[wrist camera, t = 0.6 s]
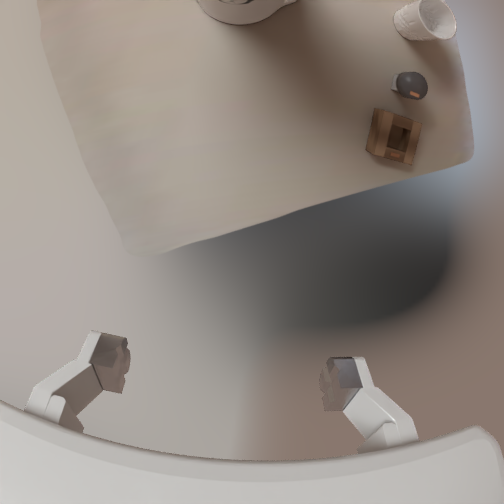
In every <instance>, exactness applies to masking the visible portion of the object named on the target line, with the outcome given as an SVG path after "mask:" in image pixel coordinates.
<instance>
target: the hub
mask: <svg viewBox="0 0 504 504" xmlns="http://www.w3.org/2000/svg"><path fill="white" fill-rule="evenodd" d="M421 127H422V124H421V123H419V122H416V121H413V120H411V119H408V118H405V117H402V116H399V115H397V114H394V113H391V112H388V111H385V110H380V109H376V108H375V110H374V115H373V119H372V124H371V128H370V133H369V137H368V141H367V146H366V150H367V151H369V152H370V153H372V154H374V155H377V156H381V157H385V158H388V159H392V160H395V161H399V162H402V163H406V164H409V165H412V162H413V158H414V155H415V151H416V147H417V143H418V139H419V135H420V131H421Z"/></svg>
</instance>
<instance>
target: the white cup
mask: <svg viewBox="0 0 504 504" xmlns="http://www.w3.org/2000/svg"><path fill="white" fill-rule="evenodd" d="M393 18H394V25H395V27H396V29H397V31H398V32H399V33H400V34H401V35H402V36H403V37H405V38H407V39H409V40H448V39H450V38H452V37H453V36H454V35H455V33H456V29H457V24H456V19H455V16H454V14H453V12H452V11H451V9H450V8H449V7H448V5H447V4H446V3H445V2H443V1H442V0H416V1H414V2H412V3H410V4H408V5H406V6H404V7H403V8H401V9H399V10H397V11H396V13H395V15H394V17H393Z"/></svg>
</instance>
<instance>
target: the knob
mask: <svg viewBox="0 0 504 504" xmlns="http://www.w3.org/2000/svg"><path fill="white" fill-rule="evenodd" d="M391 89H392V90H394V91H397V92H399V93H400V94H401V95H402V96H403V97H405V98H410V99H416V100H419V99H422V98H424V97H425V96H426V94H427V91H428V85H427V82H426V80H425V78H424V77H423V76H422V75H421V74H419V73H417V72H402V73H400V74H399V75H394V77H393V83H392V88H391Z"/></svg>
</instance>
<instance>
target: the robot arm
mask: <svg viewBox="0 0 504 504" xmlns="http://www.w3.org/2000/svg"><path fill="white" fill-rule="evenodd" d="M197 1H198V3H199V4H200V6H201V7H202V9H203V10H204V11H205V12H206V13H207V14H208V15H210V16H211V17H213V18H215V19H217V20H219V21H221V22H225V23H229V24H250V23H255V22H258V21H261V20H263V19H265V18H267V17H269V16H270V15H272V14H273V13H274V12H275V11H277V10H278V9H279V8H280V7H282V6H284V5H287V4H291V3H293V2H295V1H297V0H197ZM127 344H128V342H127V338H124V337H120V336H115V335H111V334H107V333H102V332H98V331H93V330H92V331H91V332H90V333H89V334H88V336H87V339H86V341H85V343H84V345H83V347H82V350H81V352H80V354H79V356H78V358H77V360H72V361H71V362H69V363H68V364H66V365H65V366H63V367H62V368H60V369H59V370H58V371H56V372H55V373H53V374H52V375H50V376H49V377H47V378H46V379H44V380H43V381H42V382H40V383H39V384H37V385H36V386H34V388H33V391H32V393H31V395H30V398H29V400H28V402H27V405H26V407H25V409H24V411H23V410H21V409H18V408H16V407H14V406H12V405H10V404H8V403H6V402H4V401H2V400H0V504H504V459H503V456H502V452H501V449H500V447H499V444H498V442H497V440H496V439H495V438H494V437H493V436H492V435H491V434H489V433H488V432H487V431H486V430H485V429H483V428H482V427H480V426H479V425H471V426H468V427H466V428H463V429H460V430H457V431H454V432H451V433H448V434H445V435H441V436H438V437H434V438H431V439H428V440H424V441H419V438H418V435H417V432H416V429H415V426H414V423H413V420H412V418H411V417H410V416H409V415H408V414H407V413H405V412H404V411H403V410H402V409H401V408H400V407H399V406H398V405H397V404H396V403H394V402H393V401H392V400H391V399H390V398H389V397H388V396H387V395H386V394H384V393H383V392H382V391H381V390H380V389H379V388H378V387H374V384H373V381H372V378H371V375H370V372H369V370H368V367H367V364H366V361H365V359H364V358H363V357H330V358H329V359H328V360H327V367H325V368H323V370H322V372H321V374H320V379H319V381H320V389H321V390H322V391H323V392H324V393H325V394H324V396H323V398H322V400H323V404H324V410H325V411H341V410H343V412H344V414H345V415H346V416H347V417H348V419H349V420H350V421H351V422H352V423H353V425H354V426H355V427H356V428H357V429H358V431H359V432H360V433H361V434H362V435H363V437H364V438H365V439H366V441H365V442H364V443H363V444H361V445H360V446H359V447H358V454H355V455H348V456H339V457H330V458H319V459H306V460H283V461H282V460H281V461H252V460H229V459H214V458H203V457H194V456H186V455H179V454H172V453H166V452H159V451H154V450H149V449H143V448H139V447H134V446H129V445H125V444H120V443H116V442H112V441H109V440H105V439H101V438H98V437H94V436H91V435H87V434H84V433H83V429H84V427H83V425H82V424H81V422H80V421H79V420H78V418H77V417H76V415H77V414H79V413H80V412H81V411H82V410H83V409H84V408H85V407H86V406H87V405H88V404H89V403H90V402H91V401H92V400H93V399H94V398H96V397H97V396H98V395H99V394H100V393H101V392H102V391H103V390H106V391H111V392H116V393H122V390H123V387H124V383H125V378H124V374H126V373H127V372H128V370H129V366H130V351H129V350H128V349H127V348H126V347H127Z"/></svg>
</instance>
